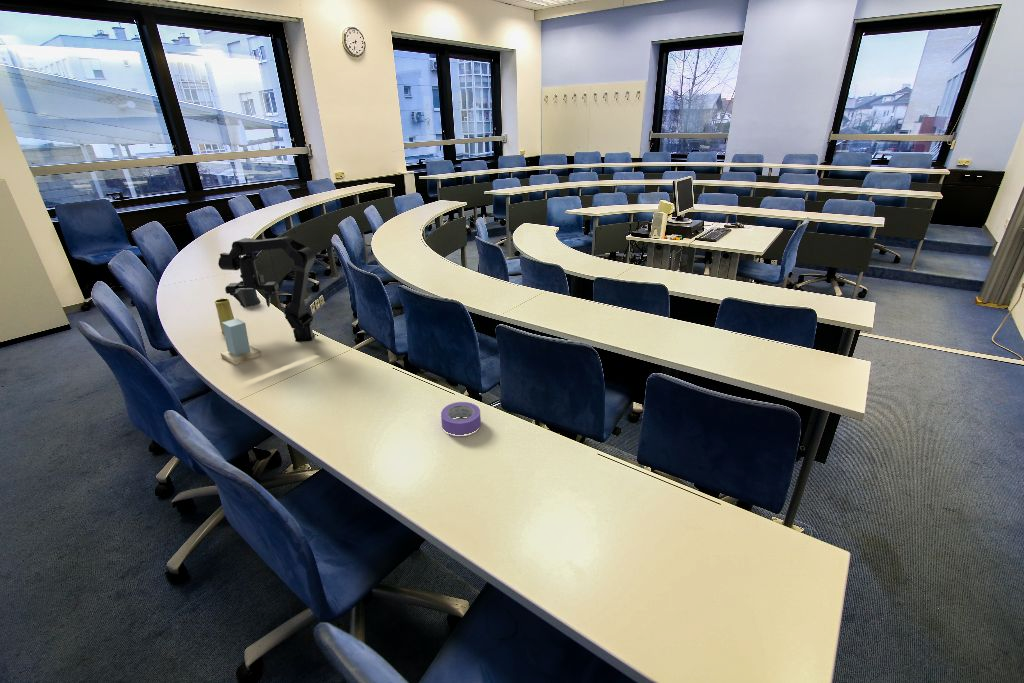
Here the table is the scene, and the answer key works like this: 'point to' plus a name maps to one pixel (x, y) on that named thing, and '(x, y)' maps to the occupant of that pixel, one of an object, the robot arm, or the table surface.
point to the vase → (224, 311)
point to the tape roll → (464, 424)
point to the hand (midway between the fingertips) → (257, 307)
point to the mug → (250, 297)
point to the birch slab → (241, 355)
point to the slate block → (236, 336)
